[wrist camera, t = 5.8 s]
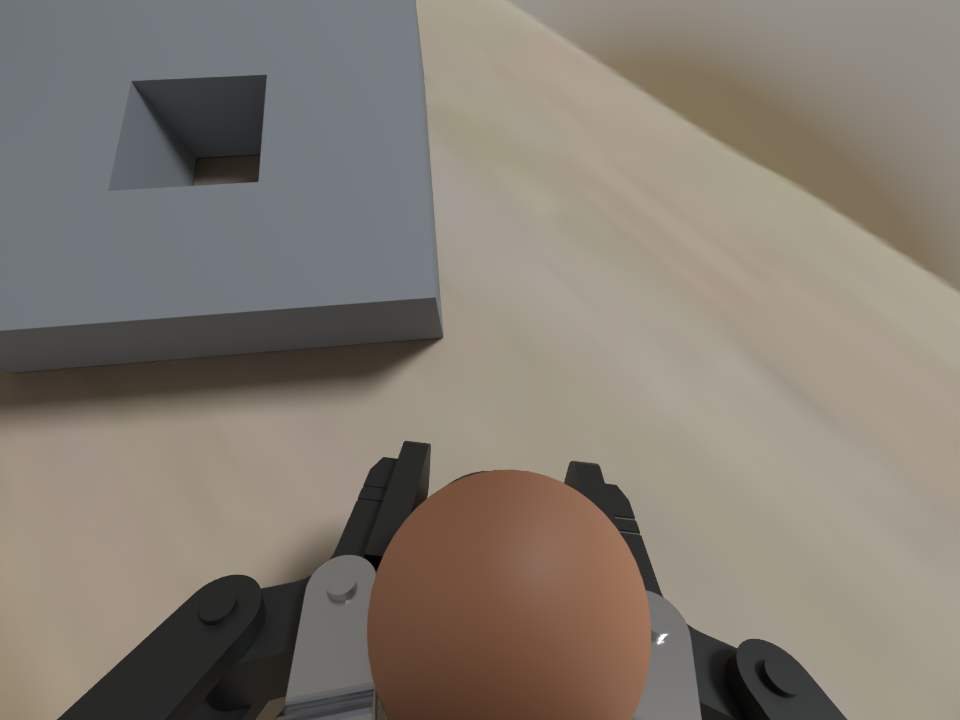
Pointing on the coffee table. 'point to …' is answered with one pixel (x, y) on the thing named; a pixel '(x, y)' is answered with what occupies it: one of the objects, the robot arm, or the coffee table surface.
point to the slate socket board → (211, 208)
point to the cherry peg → (508, 607)
